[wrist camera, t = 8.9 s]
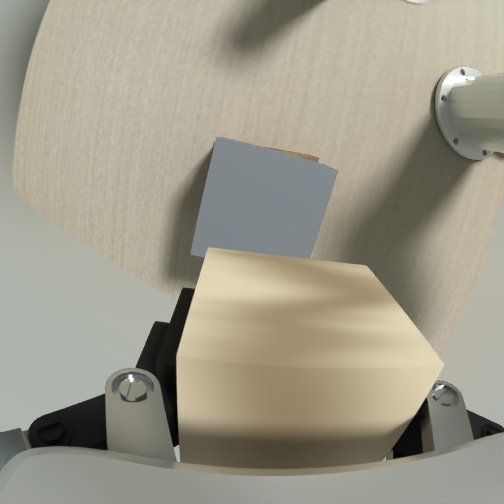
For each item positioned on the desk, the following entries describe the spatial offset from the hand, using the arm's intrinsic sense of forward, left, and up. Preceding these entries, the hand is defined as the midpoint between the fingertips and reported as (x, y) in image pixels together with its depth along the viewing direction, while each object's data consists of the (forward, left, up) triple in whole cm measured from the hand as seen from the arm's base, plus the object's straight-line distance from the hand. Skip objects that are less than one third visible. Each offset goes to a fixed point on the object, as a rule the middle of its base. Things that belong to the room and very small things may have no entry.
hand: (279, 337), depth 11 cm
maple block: (0, 0, -1) cm, 1 cm away
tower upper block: (0, 0, -21) cm, 21 cm away
